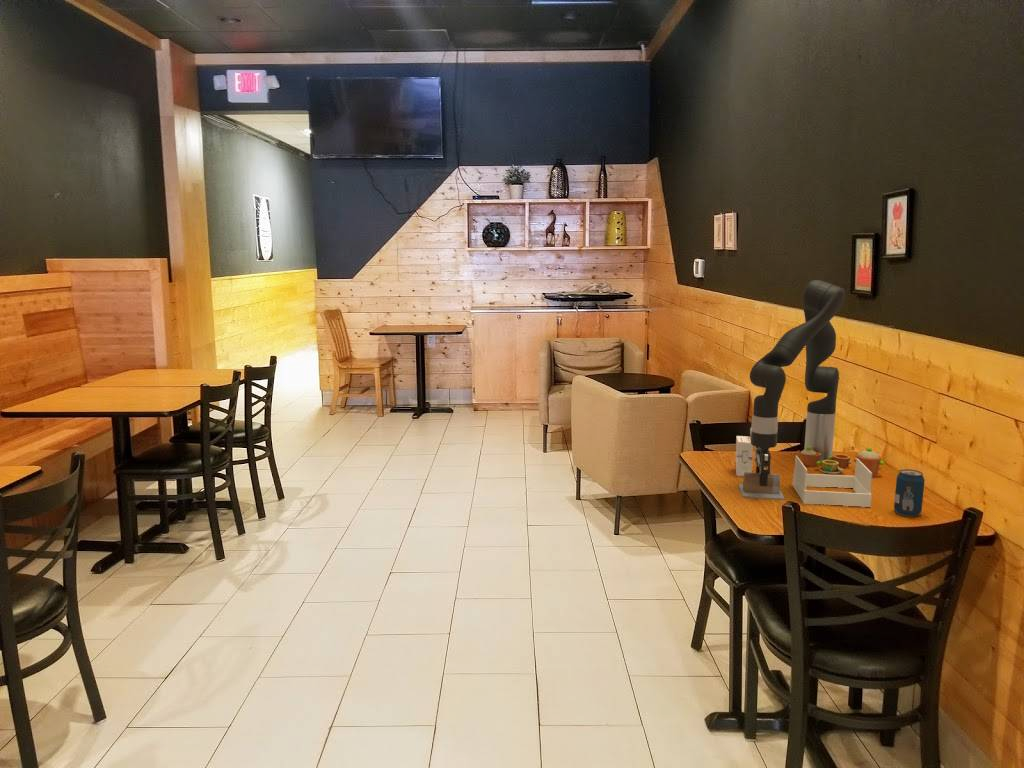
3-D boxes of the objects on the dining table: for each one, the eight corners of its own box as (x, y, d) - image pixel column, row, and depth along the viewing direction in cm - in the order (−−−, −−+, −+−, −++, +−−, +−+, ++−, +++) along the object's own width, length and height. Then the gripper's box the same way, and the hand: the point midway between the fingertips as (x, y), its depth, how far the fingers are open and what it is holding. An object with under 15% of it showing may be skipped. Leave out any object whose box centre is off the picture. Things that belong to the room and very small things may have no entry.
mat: (738, 485, 237) (738, 483, 237) (778, 487, 235) (778, 486, 235) (742, 497, 225) (742, 495, 225) (784, 499, 223) (784, 498, 223)
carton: (792, 485, 237) (794, 454, 235) (854, 488, 234) (856, 457, 232) (804, 503, 219) (806, 470, 218) (870, 507, 216) (873, 474, 214)
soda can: (912, 508, 215) (916, 468, 213) (926, 517, 208) (930, 475, 206) (888, 509, 215) (892, 468, 213) (901, 517, 208) (905, 475, 206)
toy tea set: (879, 467, 258) (881, 439, 256) (888, 480, 243) (891, 451, 242) (798, 461, 265) (800, 434, 263) (802, 474, 250) (804, 445, 248)
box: (743, 487, 233) (744, 472, 232) (776, 489, 231) (777, 473, 230) (744, 492, 229) (745, 476, 228) (779, 494, 227) (780, 478, 226)
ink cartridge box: (734, 469, 255) (736, 426, 252) (749, 469, 254) (751, 427, 251) (736, 476, 246) (738, 432, 244) (752, 477, 245) (754, 433, 243)
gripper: (781, 436, 219) (777, 489, 222) (773, 425, 233) (770, 475, 236) (754, 435, 220) (751, 488, 223) (748, 424, 234) (745, 474, 237)
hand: (761, 481), depth 229 cm, fingers open, 8 cm apart
